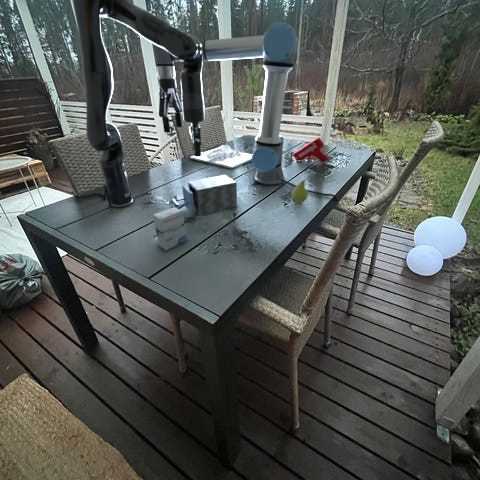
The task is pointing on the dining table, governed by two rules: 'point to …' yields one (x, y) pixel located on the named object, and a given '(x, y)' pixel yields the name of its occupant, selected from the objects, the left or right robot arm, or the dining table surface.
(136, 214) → the dining table surface
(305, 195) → the fruit
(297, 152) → the toy gun
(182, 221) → the ink box
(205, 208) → the white box dark end
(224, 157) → the relief map
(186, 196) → the drawer
